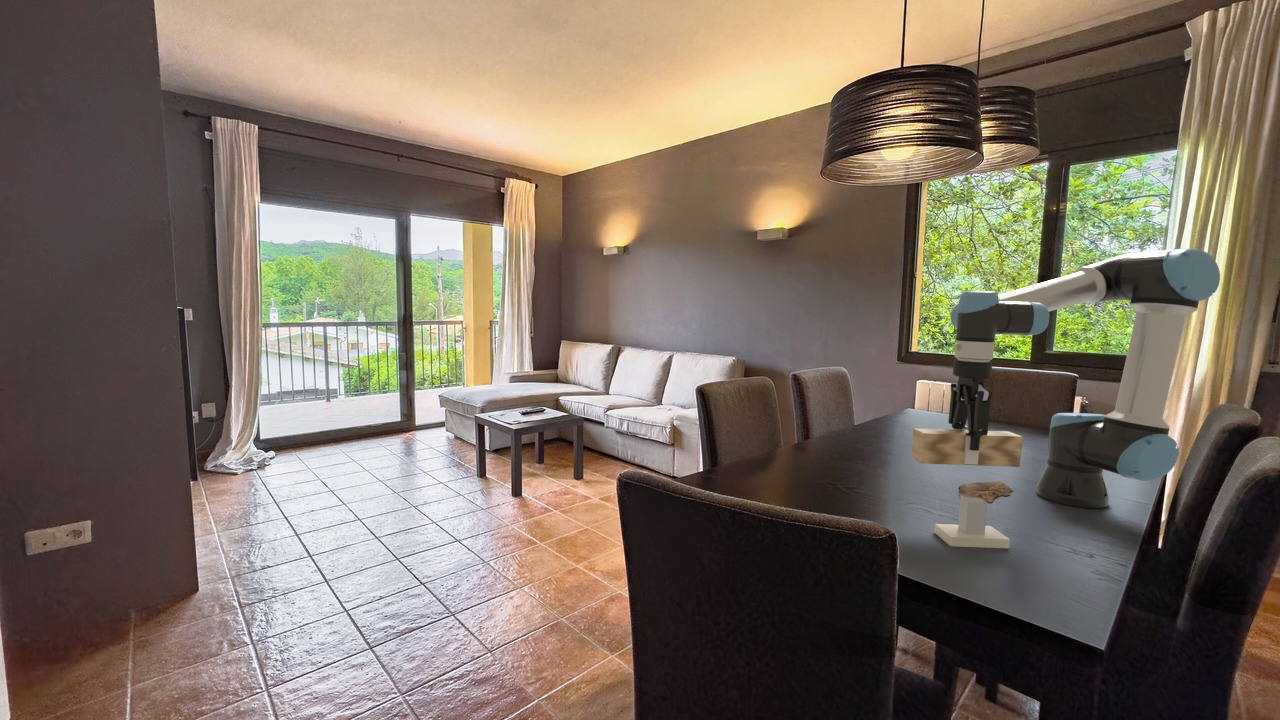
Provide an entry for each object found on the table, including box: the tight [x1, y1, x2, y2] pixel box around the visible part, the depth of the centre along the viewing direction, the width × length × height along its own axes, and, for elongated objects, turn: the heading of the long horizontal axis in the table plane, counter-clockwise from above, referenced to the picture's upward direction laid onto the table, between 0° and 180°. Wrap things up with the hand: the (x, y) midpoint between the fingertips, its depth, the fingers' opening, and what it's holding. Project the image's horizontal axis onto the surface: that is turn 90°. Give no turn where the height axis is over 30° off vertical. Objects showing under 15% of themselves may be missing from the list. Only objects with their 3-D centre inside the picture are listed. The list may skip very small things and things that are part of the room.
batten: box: [910, 428, 1024, 468], centre depth 126 cm, size 22×5×7 cm, turn 88°
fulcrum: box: [933, 497, 1011, 549], centre depth 118 cm, size 12×7×9 cm, turn 87°
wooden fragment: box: [959, 480, 1014, 504], centre depth 151 cm, size 26×11×1 cm, turn 124°
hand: (964, 459), depth 126 cm, fingers closed on batten, 5 cm apart
